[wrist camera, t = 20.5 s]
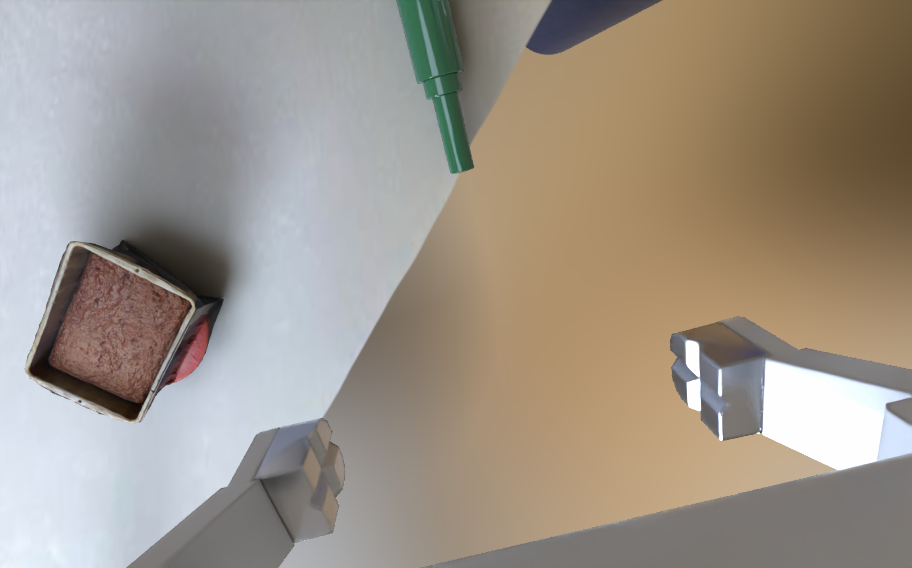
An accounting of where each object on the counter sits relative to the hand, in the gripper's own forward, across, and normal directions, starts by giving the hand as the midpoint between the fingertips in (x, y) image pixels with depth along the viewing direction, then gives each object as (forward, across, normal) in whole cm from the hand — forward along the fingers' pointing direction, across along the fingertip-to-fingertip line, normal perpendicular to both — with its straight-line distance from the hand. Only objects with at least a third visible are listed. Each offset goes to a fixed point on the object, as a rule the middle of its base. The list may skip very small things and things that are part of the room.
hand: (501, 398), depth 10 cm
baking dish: (+37, +34, +6) cm, 51 cm away
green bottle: (+36, 0, -10) cm, 37 cm away
